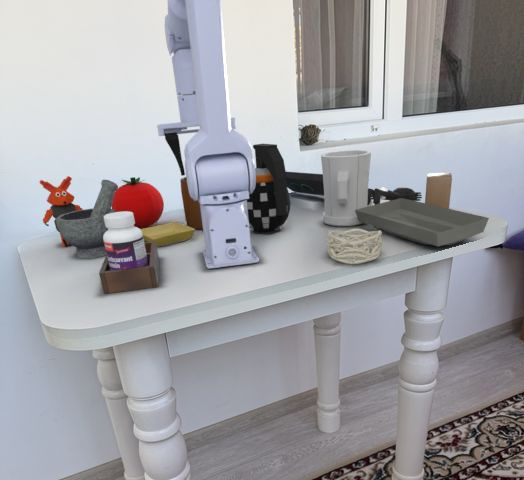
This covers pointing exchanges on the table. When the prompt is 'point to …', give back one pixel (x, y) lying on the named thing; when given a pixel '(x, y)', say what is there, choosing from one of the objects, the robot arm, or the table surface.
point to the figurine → (392, 194)
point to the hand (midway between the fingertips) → (202, 172)
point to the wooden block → (438, 189)
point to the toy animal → (59, 203)
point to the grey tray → (422, 221)
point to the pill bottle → (124, 241)
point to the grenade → (268, 191)
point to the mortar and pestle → (89, 224)
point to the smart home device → (305, 183)
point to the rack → (131, 274)
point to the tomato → (139, 202)
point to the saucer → (167, 233)
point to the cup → (345, 186)
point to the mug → (191, 207)
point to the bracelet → (344, 242)
